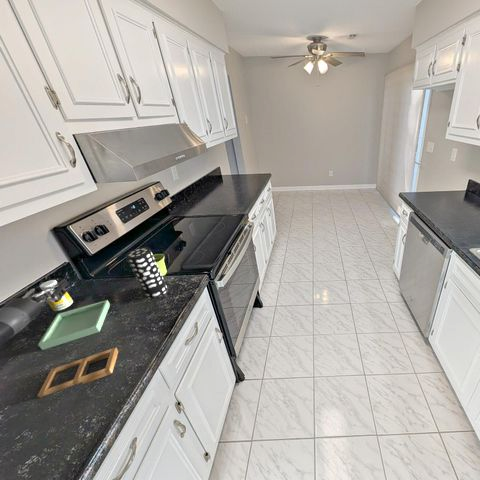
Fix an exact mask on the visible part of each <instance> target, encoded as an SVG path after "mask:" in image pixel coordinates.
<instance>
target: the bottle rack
mask: <svg viewBox="0 0 480 480" xmlns="http://www.w3.org/2000/svg"><path fill="white" fill-rule="evenodd" d="M118 353H119V350H118V348H117V347H112V348H109V349H107V350H103V351H101V352H97V353H95V354H92V355H88V356H87V357H86V356H85V357H83V358H80V359H78V360H74V361H72V362H68V363H65V364H62V365H60V366H57V367H54V368H51V369H50V371H49V372H48V375H47V377H46V379H44V382H43V384H42V386H41V388H40V390H39V392H38V393H37V397H38V398H39V399H40V398H43V397H46V396H48V395H51V394H53V393H57V392H58V391H61V390H64V389H67V388H70V387H72V386H75V385H78V384H80V383H81V386H83V385H86V384H89V383H91V382H93V381H96V380H99V379H101V378H104V377H107V376H110V375H113V372H114V368H115V365H116V361H117V359H118ZM105 359H107V362H106V363H105V364H106V365H105V367H104V368H102V369H99V370H96V371H93V372H90V373H88V374H85V375H83V374H84V371H85V369H86V367H87V365H88V363H89V364H90V365H92V364H93V363H96V362H100V361H102V360H105ZM77 366H78V368H77V370H76V373H75V375H74V377H73V379H70V380H68V381H65V382H63V383H60V384H57V385H55V386H51V384H52V382H53V381H54V379H55V376H56V374H57V373H59V372H62V371H66V370H68V369H71V368H74V367H77ZM50 386H51V387H50Z"/></svg>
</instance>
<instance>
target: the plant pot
mask: <svg viewBox="0 0 480 480" xmlns="http://www.w3.org/2000/svg"><path fill="white" fill-rule="evenodd" d="M153 256H154V259H155V261H156V263H157V266H158V268H159V270H160V272H161V275H162V277H164V276H166V275H167V273H168V272H167V267H166V263H165V255H164V254H163V253H156V254H153Z"/></svg>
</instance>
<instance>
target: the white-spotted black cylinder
mask: <svg viewBox="0 0 480 480" xmlns="http://www.w3.org/2000/svg"><path fill="white" fill-rule="evenodd" d="M153 255H154V254H153V252H152V249H151V248H150V247H147V246H144V247H139V248H135V249H133V250H131V251H129V252H127V253H126V254H125V258H126V260H127V262H128V264H129V266H130V268H131V270H132V272H133V275H134V277H135V278H136V280H137V282H138V284H139V287H140V288H141V291H142V292H143V294H144V296H145V298H146V299H148V300H152V299H156V298H160V297H162V296H164V295H165V294H166V293H167V291H168V290H169V289H168V286H167V283H166V281H165V279H164V276H162V275H161V272H160V270H159V268H158V266H157V263H156V261H155V259H154V256H153Z"/></svg>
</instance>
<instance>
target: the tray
mask: <svg viewBox="0 0 480 480" xmlns="http://www.w3.org/2000/svg"><path fill="white" fill-rule="evenodd" d="M110 306H111V303H110V301H109V300H108V299H105V300H102V301H98V302H95V303H91V304H88V305H84V306H81V307H77V308H74V309H70V310H67V311H64V312H60V313H57V314H56V316H55V318H53V321H52V322H51V324H50V325H49V326H48V328H47V330H46V331H45V333H44V334H43V336H42V337H41V339H40V341H39V343H38V344H37V346H38V347H39V348H40V349H41V350H42V351H44V350H47V349H51V348H54V347H56V346H59V345H63V344H66V343H70V342H72V341H76V340H78V339H82V338H84V337H87V336H91V335H94V334H98V333H100V332H101V330H102V327H103V325H104V322H105V319H106V318H107V317H106V316H107V314H108V312H109V309H110Z"/></svg>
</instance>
